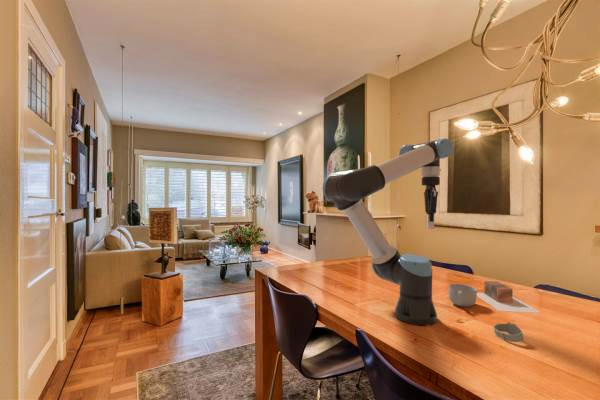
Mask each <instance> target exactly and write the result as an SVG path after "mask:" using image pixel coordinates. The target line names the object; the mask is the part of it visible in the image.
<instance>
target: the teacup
mask: <svg viewBox="0 0 600 400" xmlns="http://www.w3.org/2000/svg"><path fill="white" fill-rule="evenodd" d="M477 293H478V288H476V287H474V286H472V285H467V284H465V283H450V284H448V298H449V299H448V300H450V301H451V302H452V303H453V305H455V306H458V307H462V308H465V307H467V308H469V307H472V306H473V305H476V302H477V297H478V296H477Z"/></svg>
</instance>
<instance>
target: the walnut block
mask: <svg viewBox="0 0 600 400" xmlns="http://www.w3.org/2000/svg"><path fill="white" fill-rule="evenodd" d="M484 293H485V294H486V295H487V296H489V297H490V298H492V299H494V300H495V301H497V302H505V303H513V297H514V296H513V288H511V287H509V286H507V285H506V284H503V283H502V282H499V281H492V280H491V281H490V280H489V281H487V280H486V281H485V280H484Z"/></svg>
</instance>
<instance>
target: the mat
mask: <svg viewBox="0 0 600 400" xmlns="http://www.w3.org/2000/svg"><path fill="white" fill-rule="evenodd" d="M476 297H477V298H479V299H481V300H482V301H484V302H485V303H487V304H488V305H490V306H491V307H492V308H494V310H497V311H498V312H512V313H514V312H515V313H535V314H536V313H539V314H542V311H540V310H538V309H536V308H534V307H532V306H530V305H529V304H527V303H525V302H523V301H522V300H520V299H518V298H516V297H514V296H513V303H505V302H497V301H495V300H494V299H492V298H490V297H489V296H487V295H486V294H485V292H477V296H476Z"/></svg>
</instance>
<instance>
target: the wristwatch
mask: <svg viewBox="0 0 600 400" xmlns="http://www.w3.org/2000/svg"><path fill="white" fill-rule="evenodd" d="M493 330H494V331H493V332H494V334H496V335H497V336H496V335H495V336H496V337H497V338H499V337H500V338H499V339H501V338H502V339H501V340H503V339H504V340H503V341H505V340H506V341H508V342H513V343H520V342H523V341H524V340H525V339H524V334H523V332H522V331H523V330H522V329H521V328H520V327H518V325H516V324H515V323H512V322H510V321H508V322H506V323H496V324H494V326H493Z"/></svg>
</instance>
